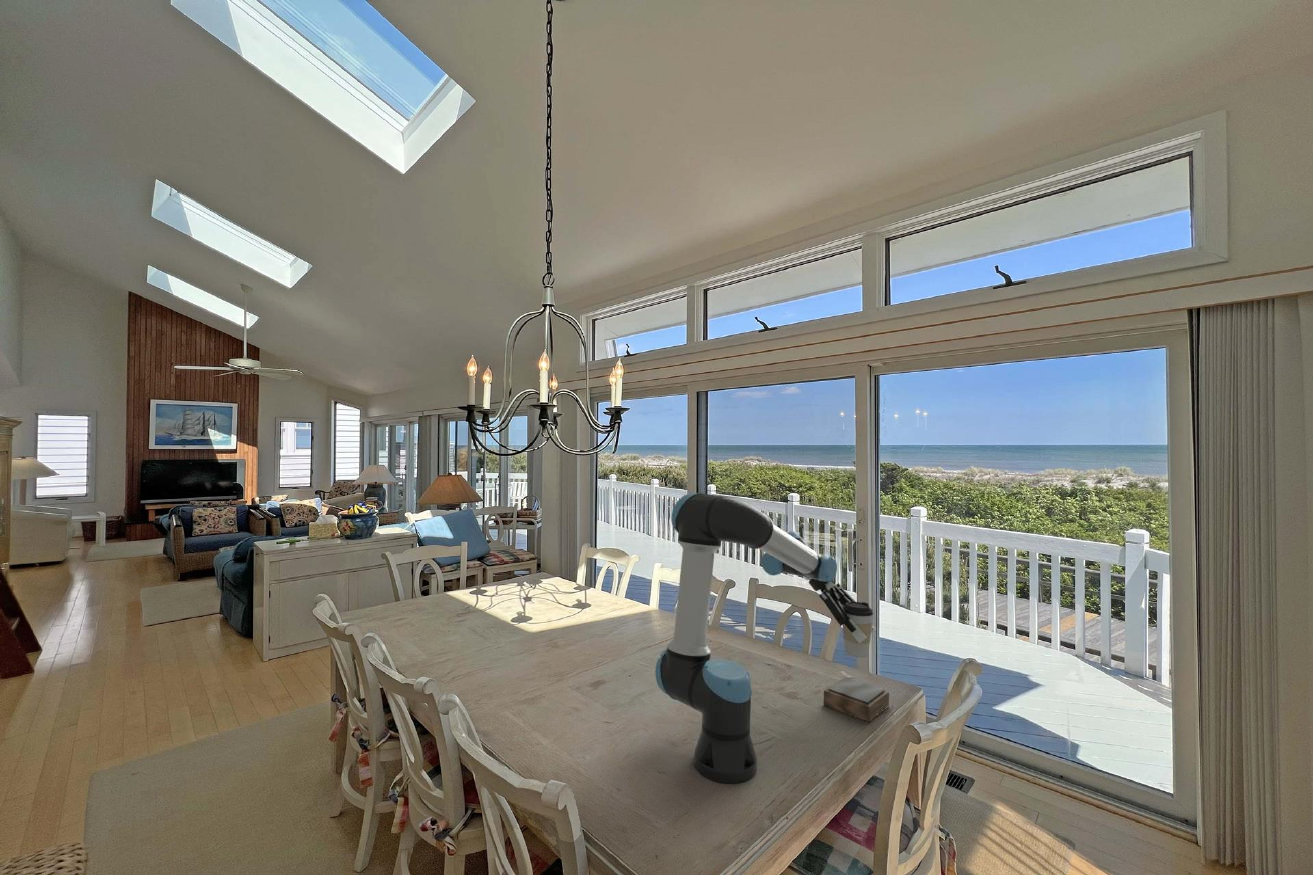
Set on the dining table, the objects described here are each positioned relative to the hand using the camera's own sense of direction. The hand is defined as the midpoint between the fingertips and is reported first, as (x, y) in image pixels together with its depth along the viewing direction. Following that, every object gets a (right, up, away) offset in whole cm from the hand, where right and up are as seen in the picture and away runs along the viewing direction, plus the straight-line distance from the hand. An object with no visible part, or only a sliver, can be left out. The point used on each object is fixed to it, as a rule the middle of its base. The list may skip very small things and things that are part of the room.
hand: (867, 636), depth 160 cm
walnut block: (-3, -22, +1) cm, 22 cm away
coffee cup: (-3, -6, +2) cm, 7 cm away
